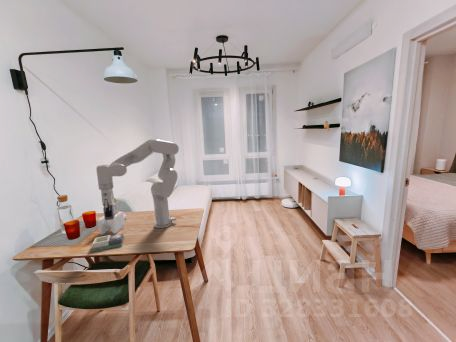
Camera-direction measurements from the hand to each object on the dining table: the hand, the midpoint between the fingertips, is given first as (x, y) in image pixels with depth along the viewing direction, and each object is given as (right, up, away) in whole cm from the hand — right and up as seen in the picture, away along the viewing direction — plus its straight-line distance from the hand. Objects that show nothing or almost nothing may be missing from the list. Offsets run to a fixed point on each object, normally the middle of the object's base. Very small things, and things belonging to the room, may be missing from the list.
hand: (109, 214), depth 130 cm
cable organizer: (-9, -15, +20) cm, 27 cm away
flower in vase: (-14, -12, +37) cm, 42 cm away
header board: (-2, -19, +2) cm, 19 cm away
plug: (0, -2, 0) cm, 2 cm away
